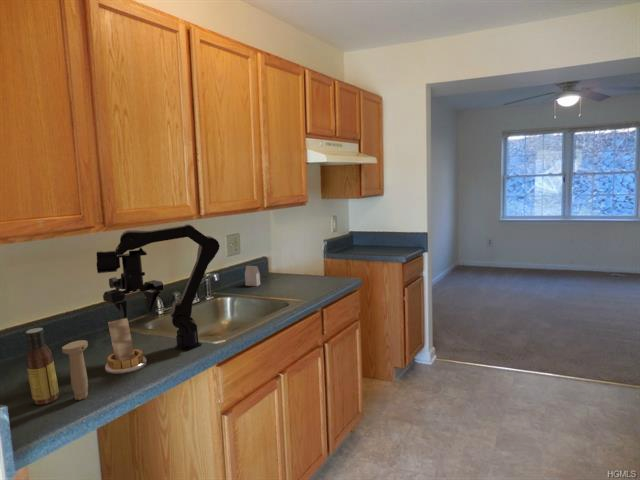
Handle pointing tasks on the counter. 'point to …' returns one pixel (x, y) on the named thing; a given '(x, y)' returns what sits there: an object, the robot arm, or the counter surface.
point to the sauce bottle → (40, 368)
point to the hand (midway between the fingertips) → (137, 316)
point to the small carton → (252, 276)
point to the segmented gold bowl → (125, 363)
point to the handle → (77, 368)
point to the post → (121, 339)
